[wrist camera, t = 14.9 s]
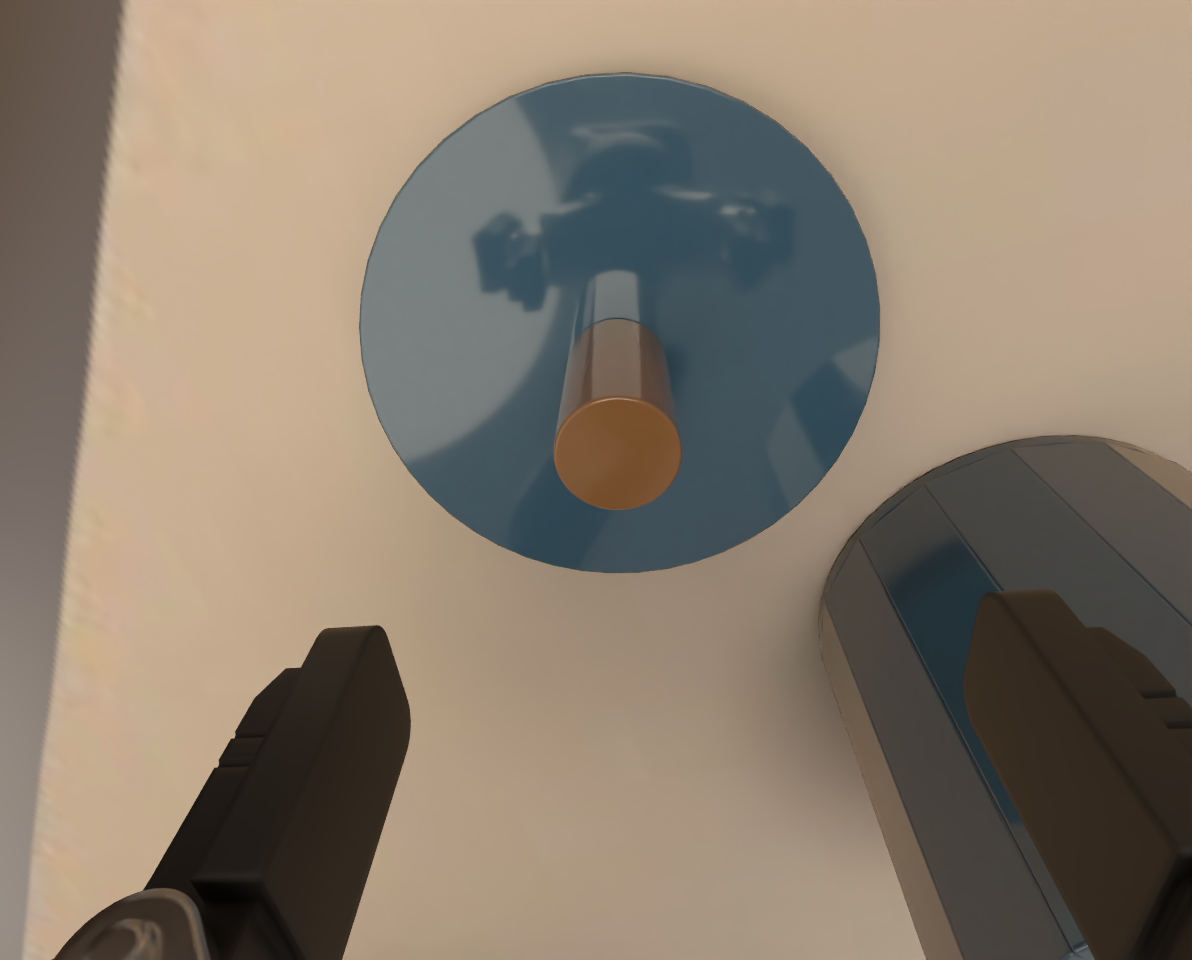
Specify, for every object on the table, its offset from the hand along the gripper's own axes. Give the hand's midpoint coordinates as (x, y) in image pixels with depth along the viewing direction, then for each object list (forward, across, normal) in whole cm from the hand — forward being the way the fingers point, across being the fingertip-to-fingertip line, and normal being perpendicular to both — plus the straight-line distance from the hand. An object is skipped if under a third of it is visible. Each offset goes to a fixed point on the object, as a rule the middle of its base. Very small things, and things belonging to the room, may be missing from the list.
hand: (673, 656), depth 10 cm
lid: (+11, +1, 0) cm, 11 cm away
